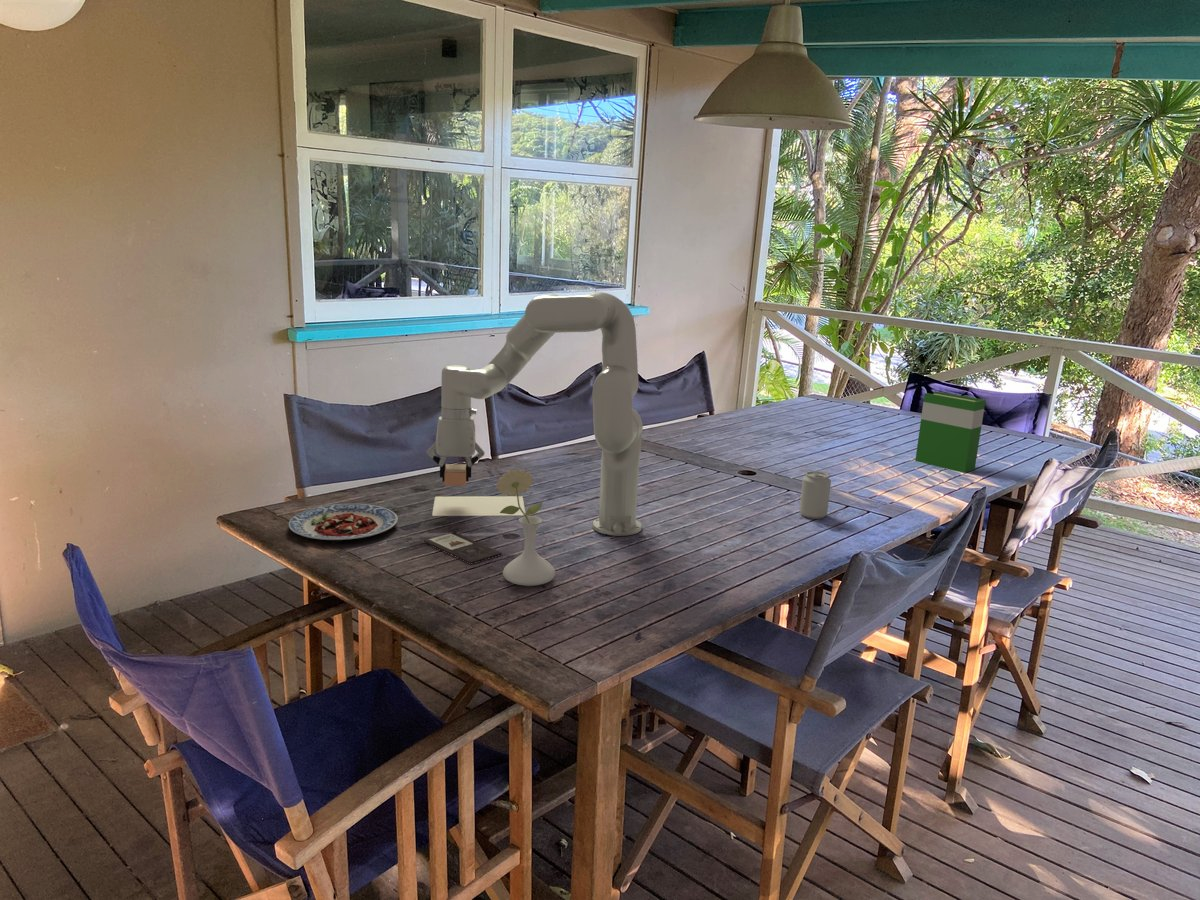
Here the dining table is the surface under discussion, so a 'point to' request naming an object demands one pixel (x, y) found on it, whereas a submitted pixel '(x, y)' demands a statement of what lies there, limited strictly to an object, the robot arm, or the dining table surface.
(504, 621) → the dining table surface
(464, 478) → the orange-brown block
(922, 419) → the green cereal box
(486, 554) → the chocolate bar
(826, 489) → the can
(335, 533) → the ceramic plate
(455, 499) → the mat
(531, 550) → the flower in vase
